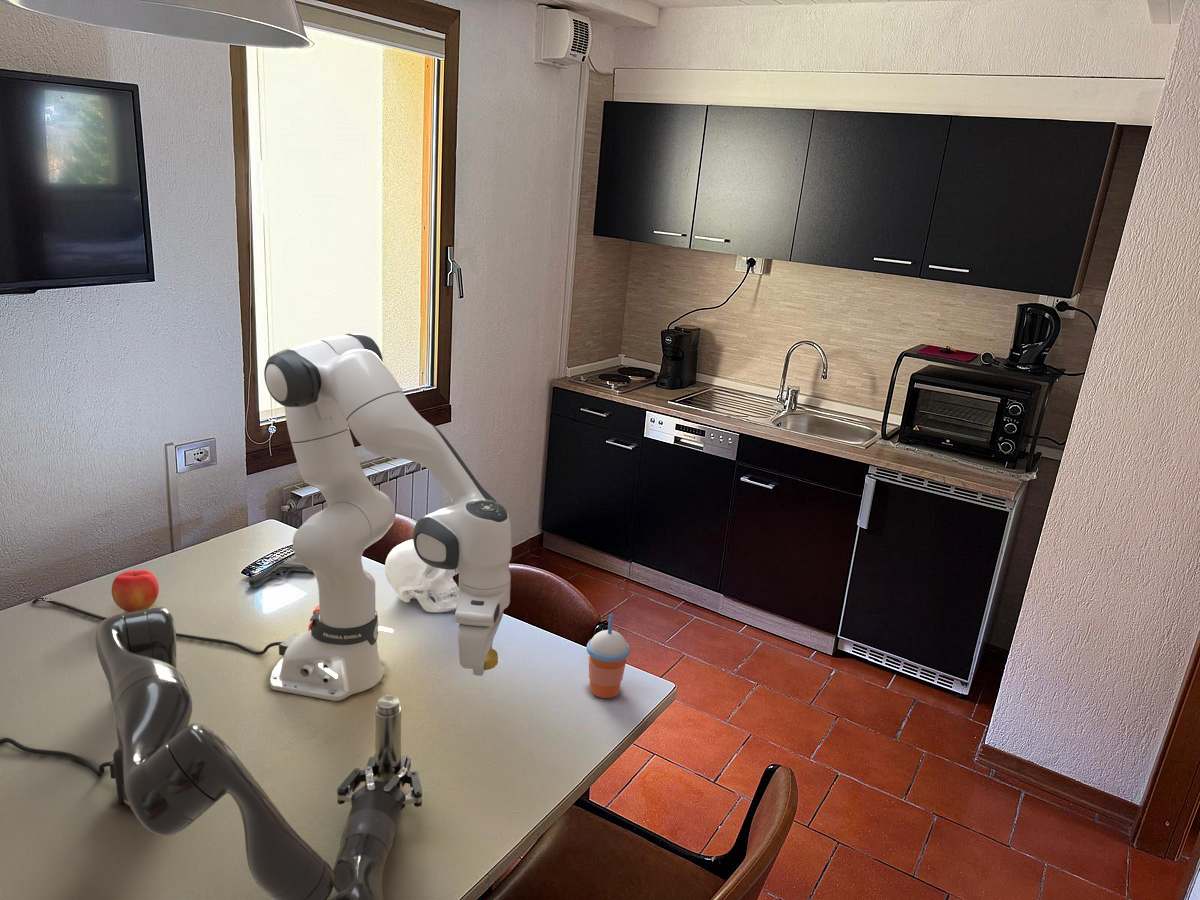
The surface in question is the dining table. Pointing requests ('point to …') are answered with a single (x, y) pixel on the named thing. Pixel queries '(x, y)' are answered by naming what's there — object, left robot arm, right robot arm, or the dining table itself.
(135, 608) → the apple
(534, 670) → the dining table surface
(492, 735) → the dining table surface
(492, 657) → the lid
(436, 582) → the skull
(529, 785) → the dining table surface
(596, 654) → the cup with straw
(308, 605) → the dining table surface
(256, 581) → the handgun
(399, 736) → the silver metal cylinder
